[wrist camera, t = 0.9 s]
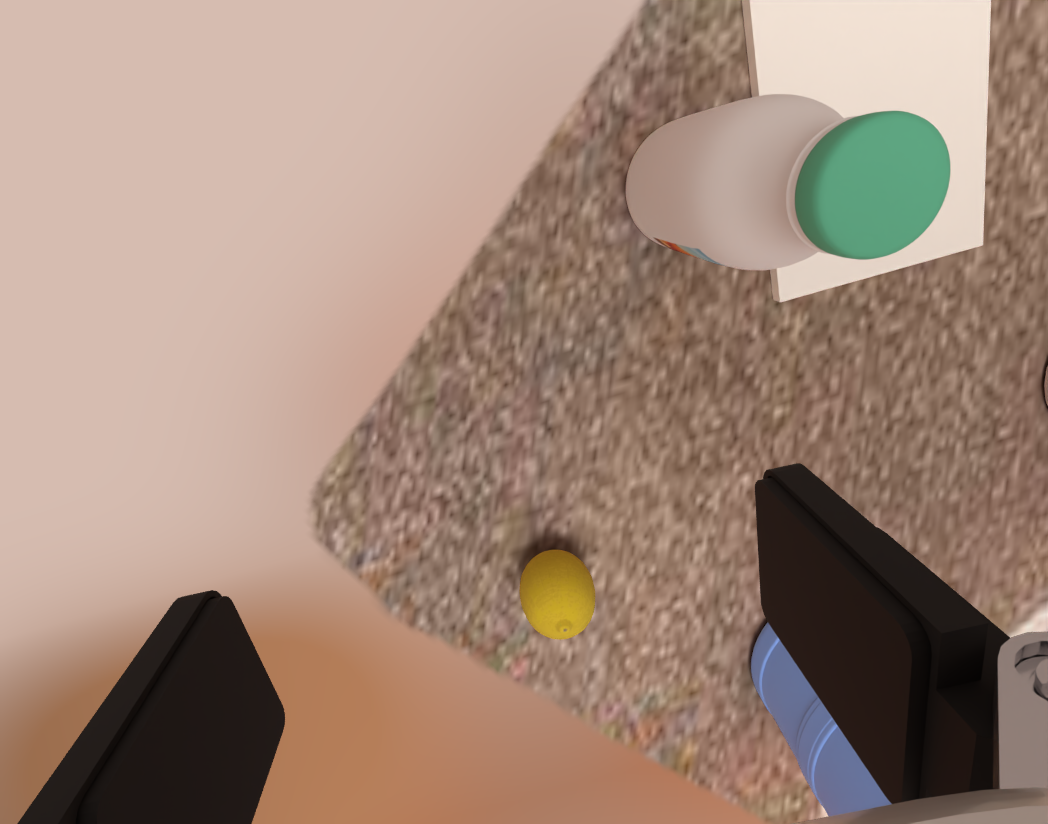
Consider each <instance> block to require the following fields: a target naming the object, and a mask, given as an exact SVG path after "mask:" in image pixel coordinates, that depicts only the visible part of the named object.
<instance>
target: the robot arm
mask: <svg viewBox="0 0 1048 824" xmlns="http://www.w3.org/2000/svg"><path fill="white" fill-rule="evenodd" d="M1044 388H1045V399H1046V402H1047V405H1048V366H1047V369H1046V376H1045V383H1044ZM755 498H756V517H757V536H758V555H759V574H760V593H761V605H762V609H763V612H764V615H765V617H766V620H767V621H768V623H769V625H770V626H771V628H772V629H773V631H774V632H775V634H776V635H777V637H778V638H779V640H780V641H781V643H782V644H783V646H784V647H785V648H786V650H787V651H788V653H789V654H790V656H791V657H792V659H793V660H794V662H795V663H796V665H797V666H798V668H799V669H800V671H801V672H802V674H803V675H804V677H805V678H806V680H807V681H808V683H809V684H810V686H811V687H812V688H813V690H814V691H815V693H816V694H817V696H818V697H819V699H820V700H821V702H822V703H823V705H824V706H825V708H826V709H827V711H828V712H829V714H830V715H831V717H832V718H833V720H834V721H835V723H836V724H837V726H838V727H839V728H840V730H841V731H842V733H843V734H844V736H845V737H846V739H847V740H848V742H849V743H850V745H851V746H852V748H853V749H854V751H855V752H856V754H857V755H858V757H859V758H860V760H861V761H862V763H863V764H864V766H865V767H866V768H867V770H868V771H869V773H870V774H871V776H872V777H873V779H874V780H875V782H876V783H877V785H878V786H879V788H880V789H881V791H882V792H883V794H884V795H885V796H886V798H887V799H888V800H889V802H891V803H892V804H891V805H886V806H880V807H875V808H870V809H865V810H860V811H855V812H850V813H844V814H839V815H834V816H829V817H824V818H819V819H814V820H808V821H803V822H798V823H793V824H1048V632H1027V633H1024V634H1021V635H1017V636H1014V637H1011V638H1010V637H1009V636H1007V635H1006V634H1005V633H1004V632H1003V631H1001V630H1000V629H999V628H998V627H997V626H996V625H994V624H993V623H992V622H991V621H990V620H988V619H987V618H986V617H985V616H984V615H983V614H981V613H980V612H979V611H978V610H977V609H975V608H974V607H973V606H972V605H971V604H970V603H968V602H967V601H966V600H965V599H964V598H962V597H961V596H960V595H959V594H958V593H957V592H955V591H954V590H953V589H952V588H951V587H949V586H948V585H947V584H946V583H945V582H943V581H942V580H941V579H940V578H939V577H938V576H936V575H935V574H934V573H933V572H932V571H930V570H929V569H928V568H927V567H926V566H925V565H923V564H922V563H921V562H920V561H919V560H917V559H916V558H915V557H914V556H913V555H912V554H910V553H909V552H908V551H907V550H906V549H904V548H903V547H902V546H901V545H900V544H899V543H897V542H896V541H895V540H894V539H893V538H891V537H890V536H889V535H888V534H887V533H885V532H884V531H882V530H881V529H879V528H877V527H875V526H874V525H873V524H872V523H871V522H869V521H868V520H867V519H866V518H865V517H864V516H862V515H861V514H860V513H859V512H858V511H857V510H855V509H854V508H853V507H852V506H851V505H849V504H848V503H847V502H846V501H845V500H844V499H842V498H841V497H840V496H839V495H838V494H837V493H835V492H834V491H833V490H832V489H831V488H830V487H828V486H827V485H826V484H825V483H824V482H822V481H821V480H820V479H819V478H818V477H817V476H815V475H814V474H813V473H812V472H811V471H810V470H808V469H807V468H806V467H805V466H803V465H802V464H792V465H788V466H783V467H778V468H774V469H769V470H766V471H765V473H764V476H763V479H762V480H758V481H757V482H756V484H755ZM284 724H285V713H284V708H283V705H282V703H281V701H280V699H279V697H278V695H277V693H276V691H275V689H274V687H273V685H272V682H271V680H270V678H269V676H268V674H267V672H266V670H265V668H264V666H263V664H262V662H261V660H260V658H259V655H258V653H257V651H256V649H255V647H254V645H253V643H252V641H251V639H250V637H249V635H248V633H247V631H246V629H245V627H244V624H243V622H242V620H241V618H240V616H239V614H238V612H237V610H236V608H235V606H234V604H233V602H232V600H231V599H230V598H229V597H227V596H223V597H222V596H221V595H220V594H219V593H218V592H217V591H213V590H211V591H207V592H202V593H197V594H193V595H188V596H184V597H181V598H178V599H177V600H176V601H175V602H174V603H173V604H172V606H171V607H170V608H169V610H168V611H167V613H166V614H165V615H164V617H163V618H162V620H161V621H160V622H159V624H158V625H157V627H156V628H155V629H154V631H153V632H152V634H151V635H150V637H149V638H148V639H147V641H146V642H145V644H144V645H143V647H142V648H141V649H140V651H139V652H138V654H137V655H136V657H135V658H134V659H133V661H132V662H131V664H130V665H129V666H128V668H127V669H126V671H125V672H124V674H123V675H122V676H121V678H120V679H119V680H118V682H117V683H116V685H115V686H114V688H113V689H112V690H111V692H110V693H109V695H108V696H107V697H106V699H105V701H104V702H103V703H102V705H101V706H100V707H99V709H98V710H97V712H96V713H95V715H94V716H93V717H92V719H91V720H90V722H89V723H88V724H87V726H86V727H85V729H84V730H83V731H82V733H81V734H80V736H79V737H78V739H77V740H76V741H75V743H74V744H73V746H72V747H71V749H70V750H69V751H68V753H67V754H66V756H65V757H64V758H63V760H62V761H61V763H60V764H59V766H58V767H57V769H56V770H55V771H54V773H53V774H52V775H51V777H50V778H49V780H48V781H47V783H46V784H45V785H44V787H43V788H42V790H41V791H40V792H39V794H38V795H37V797H36V798H35V800H34V801H33V802H32V804H31V805H30V807H29V808H28V809H27V811H26V812H25V814H24V815H23V817H22V818H21V819H20V821H19V822H18V824H251V823H252V820H253V818H254V815H255V812H256V809H257V806H258V803H259V800H260V797H261V794H262V791H263V788H264V785H265V782H266V779H267V776H268V774H269V771H270V768H271V765H272V762H273V759H274V756H275V753H276V750H277V747H278V744H279V741H280V738H281V735H282V733H283V729H284Z"/></svg>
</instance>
